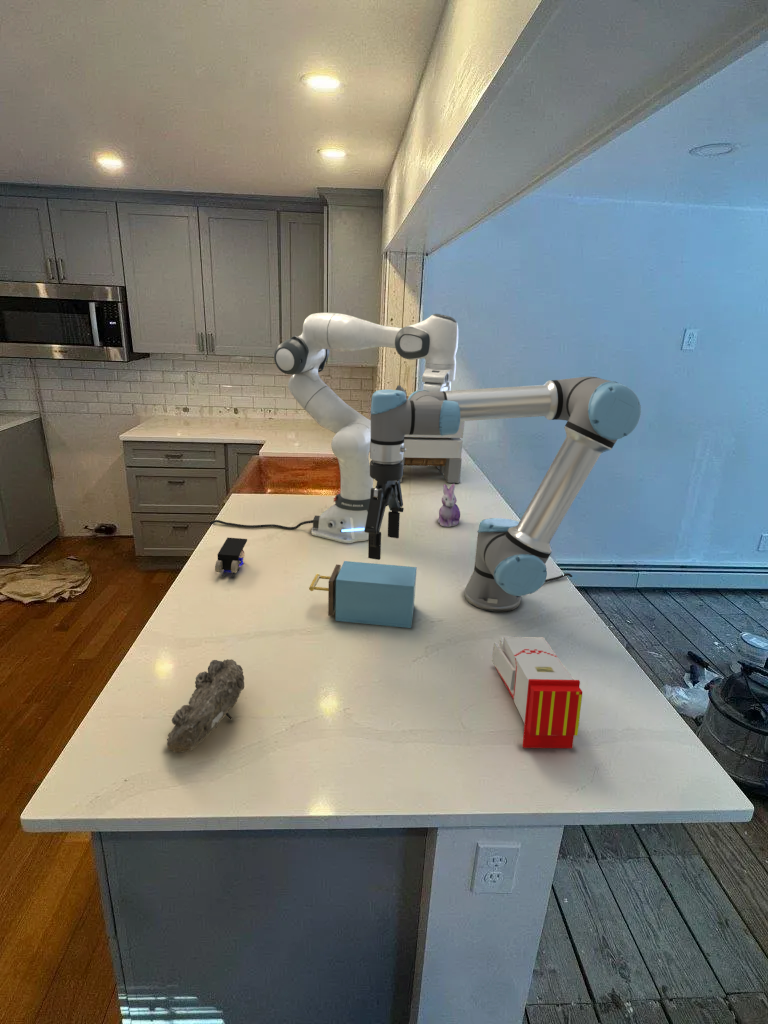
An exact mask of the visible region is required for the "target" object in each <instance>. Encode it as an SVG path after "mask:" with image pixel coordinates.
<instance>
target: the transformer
mask: <svg viewBox="0 0 768 1024" xmlns="http://www.w3.org/2000/svg"><path fill="white" fill-rule="evenodd" d="M395 390H400V391H403V392H405V394H406V398H407V399H408V398H409V396H410V395H407V394H408V393H407V390H406V389H404V388H403V387H402V385H399V384H398V385H397V386H396V388H395ZM464 429H465V421H460V426H459V429H458V431H457V433H456V434H453V435H443V436H441V435H405V436H404V448H406V451H405V452H403V460H401V461H402V462H403V469H405V466H406V467H407V466H411V467H412V466H413V467H415V466H416V467H417V466H418V467H436V468H437V470H438V469H439V473H440V474H441V475H443V478H444V479H445V481H446V482H447V483H449V484H455V483H456V484H459V483H461V472H462V461H463V460H462V453H463V442H464V441H463V440H462V439H463V438H464V431H465V430H464ZM402 482H403V477H402V478H401V479H400V483H402Z"/></svg>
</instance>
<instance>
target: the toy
mask: <svg viewBox="0 0 768 1024" xmlns="http://www.w3.org/2000/svg"><path fill="white" fill-rule="evenodd" d="M491 662H492V663H493V665H494V667H495V669H496V671H497V673H498V675H499V676H500V678H501V680H502V683H503V684H504V686H505V688H506V689H507V691H508V693H509V695H510V697H511V698H512V700H513V702H514V705H515V707H516V709H517V711H518V713H519V715H520V717H521V719H522V722H523V724H524V725H523V736H522V748H524V749H573V747H574V738H575V736H577V737H578V734H579V725H580V717H581V710H582V709H581V708H582V701H583V700H582V699H583V690H582V689H581V688H580V685H581V681H580V679H574V677H573V676H572V675H571V673H570V672H569V670H568V669H567V668H566V667H565V665H564V664H563V662H562V661H561V660H560V658H559V657H558V656H557V654H556V653H555V651H554V650H553V649H552V647H551V645H550V643H549V642H547V640H546V639H545V637H543V636H542V637H541V636H535V637H534V636H503V637H500V638H499V642H498V643H497V642H494V643H493V649H492V657H491Z"/></svg>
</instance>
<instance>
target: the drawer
mask: <svg viewBox="0 0 768 1024" xmlns="http://www.w3.org/2000/svg"><path fill="white" fill-rule="evenodd" d="M341 567H342V564H335V566H334V568H333V571H332V572H331V574H330V575H329V576H327V575H321V574H320V573H316V574H315V576H314V577H313V579H312V582H311V583H310V585H309V587H308V590H309V592H313V591H324V592H327V593H328V597H327V600H328V603H327V606H328V607H327V608H328V609H327V616H328V617H333V616H334V614H335V613H336V579H337V576H338V574H339V572H340V569H341ZM320 579H322V580H328V586H327V587H323V586H317V584H318V582H319V580H320Z"/></svg>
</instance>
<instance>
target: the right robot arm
mask: <svg viewBox="0 0 768 1024" xmlns="http://www.w3.org/2000/svg"><path fill="white" fill-rule="evenodd" d="M408 396H409V398H408V399H407V398H406V394H405V392H403V391H400V390H396V389H378V390H376V391H374V392H373V393H372V395H371V405H370V420H371V441H370V452H369V459H370V461H369V465H370V477H371V478H373V480H375V481H376V485H375V487H373V488H371V495H370V503H369V509H368V514H367V520H366V526H365V529H364V531H365V532H366V533H369V540H367V543H368V545H367V546H368V548H367V550H368V551H367V559H372V560H376V561H380V560H381V553H382V552H381V551H382V531H381V528H382V523H383V519H384V517H385V515H384V514H385V511H386V507H388V509H389V511H388V513H387V538H392V539H399V538H400V520H401V519H400V517H401V513H404V511H405V508H404V507H403V506H404V501H403V494H402V486H401V482H400V479H401V478H402V479H403V477H404V468H403V462H402V461H401V460H403V452H405V451H406V448H404V436H405V435H441V436H443V435H453V434H456V433H457V431H458V429H459V426H460V421H464V422H471V421H486V420H487V421H489V420H504V419H505V420H506V419H519V418H521V419H523V418H537V417H538V418H539V417H544V418H545V419H546V420H548V421H557V420H558V421H565V422H566V423H565V425H564V432H565V438H564V441H563V442H562V444H561V446H560V447H559V450H558V451H557V453H556V454H555V456H554V458H553V460H552V462H551V464H550V465H549V467H548V469H547V471H546V473H545V475H544V476H543V479H542V480H541V482H540V484H539V486H538V488H537V489H536V491H535V493H534V495H533V497H532V498H531V500H530V502H529V504H528V506H527V508H526V509H525V511H524V513H523V515H522V516H521V518H520V520H519V521H518V520H515V519H511V518H502V517H492V518H491V517H489V518H485V519H482V520H481V521H480V522H479V524H478V529H477V532H476V533H477V537H476V538H477V539H476V548H475V556H474V568H473V571H472V574H471V576H470V577H469V580H468V582H467V584H466V586H465V589H464V598H465V600H466V601H467V602H468V603H469V604H470V605H472V606H474V607H476V608H477V609H481V610H483V611H489V612H495V613H496V612H497V613H498V612H499V613H503V612H510V611H513V610H515V609H517V608H518V607H519V606H520V605H521V601H522V597H524V596H526V595H532V594H533V593H535V592H537V591H538V590H540V589H541V588H542V587H543V585H544V584H545V583H548V582H552V581H556V580H560V579H562V578H565V577H566V576H568V577H569V578H573V575H572V574H571V573H569V572H566V573H563V574H564V576H563V574H561V575H558V576H556V577H551V578H548V571H547V569H548V568H547V566H546V563H547V561H548V559H549V558H550V557H551V555H552V552H553V549H552V547H551V541H552V540H553V538H554V536H555V534H556V532H557V530H559V528H560V525H561V524H562V522H563V520H564V519H565V517H566V515H567V513H568V511H569V510H570V508H571V506H572V505H573V503H574V501H575V499H576V498H577V496H578V495H579V493H580V491H581V490H582V487H583V486H584V484H585V482H586V481H587V479H588V477H589V475H590V473H591V472H592V470H593V469H594V467H595V465H596V463H597V462H598V459H599V458H600V457H601V454H603V453H605V452H610V451H612V450H613V448H614V446H615V445H616V443H617V441H618V440H620V439H623V438H625V437H628V436H629V435H630V434H631V433H632V432H633V431H635V429H636V428H637V426H638V424H639V421H640V419H641V415H642V405H641V401H640V398H639V396H638V394H637V393H636V392H635V391H634V390H633V389H632V388H631V387H629V386H628V385H624V384H623V383H621V382H617V381H614V380H608V379H604V378H600V377H597V376H579V377H570V378H562V379H552V380H551V379H550V380H547V381H546V382H545V383H544V384H538V385H536V384H535V385H523V386H522V385H521V386H519V385H518V386H506V387H505V386H503V387H489V388H487V387H486V388H472V389H471V388H470V389H456V390H455V389H454V390H453V389H451V391H435V392H429V391H426V390H423V389H418V390H415V391H413V392H412V393H411V394H410V395H408Z"/></svg>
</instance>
